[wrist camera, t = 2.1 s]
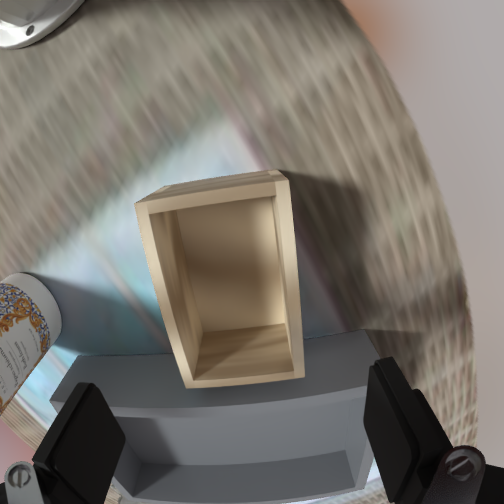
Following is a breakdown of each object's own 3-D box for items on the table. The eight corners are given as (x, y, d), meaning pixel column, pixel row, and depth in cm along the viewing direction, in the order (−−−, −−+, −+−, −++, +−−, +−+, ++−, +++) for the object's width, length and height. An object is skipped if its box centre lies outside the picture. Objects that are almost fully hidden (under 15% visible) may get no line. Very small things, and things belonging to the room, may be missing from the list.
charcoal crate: (78, 355, 24) (49, 400, 18) (364, 329, 23) (391, 379, 17) (138, 459, 29) (128, 500, 23) (351, 445, 28) (364, 488, 23)
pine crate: (165, 185, 19) (133, 203, 14) (276, 168, 19) (288, 179, 13) (198, 333, 23) (186, 388, 17) (292, 322, 23) (304, 376, 17)
